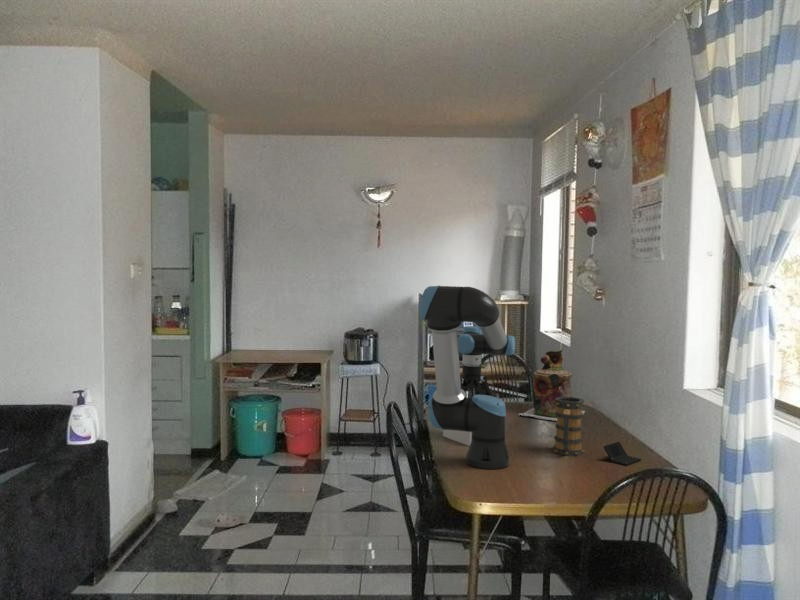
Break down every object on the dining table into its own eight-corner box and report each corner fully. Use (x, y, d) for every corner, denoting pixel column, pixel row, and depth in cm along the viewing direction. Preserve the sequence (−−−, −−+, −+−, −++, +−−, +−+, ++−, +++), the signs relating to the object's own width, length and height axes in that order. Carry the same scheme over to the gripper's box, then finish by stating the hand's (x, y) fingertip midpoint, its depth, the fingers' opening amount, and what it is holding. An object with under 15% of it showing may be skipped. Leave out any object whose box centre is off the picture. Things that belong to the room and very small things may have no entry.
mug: (586, 449, 253) (588, 397, 252) (583, 461, 237) (585, 406, 236) (552, 446, 257) (554, 395, 256) (546, 457, 241) (548, 403, 240)
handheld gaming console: (632, 463, 230) (617, 437, 235) (615, 472, 234) (600, 447, 238) (643, 461, 239) (628, 436, 244) (626, 470, 243) (612, 445, 247)
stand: (469, 446, 254) (470, 427, 254) (442, 436, 269) (443, 418, 269) (497, 442, 261) (498, 423, 261) (470, 432, 277) (470, 415, 276)
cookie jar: (538, 408, 330) (540, 344, 329) (586, 415, 316) (588, 348, 314) (516, 416, 310) (518, 348, 309) (566, 424, 296) (569, 353, 294)
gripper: (451, 367, 255) (450, 422, 255) (502, 364, 267) (500, 416, 268) (440, 365, 261) (439, 418, 262) (490, 362, 274) (489, 412, 275)
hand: (470, 417), depth 265 cm, fingers open, 13 cm apart
